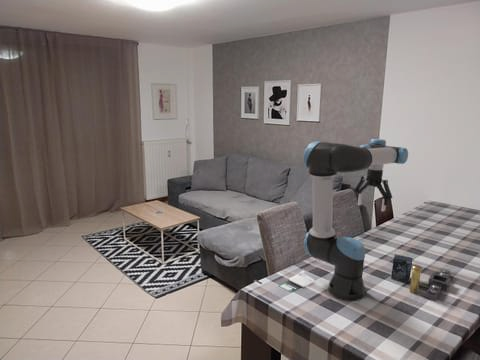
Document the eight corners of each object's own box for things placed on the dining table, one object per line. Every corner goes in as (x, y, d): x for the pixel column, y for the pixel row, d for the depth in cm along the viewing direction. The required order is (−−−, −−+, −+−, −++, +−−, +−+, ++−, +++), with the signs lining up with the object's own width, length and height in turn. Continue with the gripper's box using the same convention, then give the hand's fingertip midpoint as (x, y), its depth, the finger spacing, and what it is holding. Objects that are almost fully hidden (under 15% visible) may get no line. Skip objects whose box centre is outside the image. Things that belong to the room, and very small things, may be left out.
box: (390, 278, 163) (393, 258, 161) (392, 273, 168) (394, 253, 166) (409, 283, 160) (412, 262, 157) (410, 278, 164) (412, 257, 162)
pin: (417, 295, 150) (420, 269, 147) (407, 292, 152) (411, 266, 149) (419, 291, 152) (423, 266, 150) (410, 288, 155) (413, 264, 152)
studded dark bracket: (440, 302, 144) (441, 295, 143) (420, 296, 149) (421, 288, 148) (454, 277, 166) (455, 270, 165) (437, 272, 170) (438, 266, 170)
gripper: (402, 171, 174) (397, 212, 178) (357, 164, 192) (354, 201, 197) (395, 173, 169) (390, 215, 173) (350, 166, 188) (346, 203, 192)
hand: (371, 208), depth 185 cm, fingers open, 13 cm apart
